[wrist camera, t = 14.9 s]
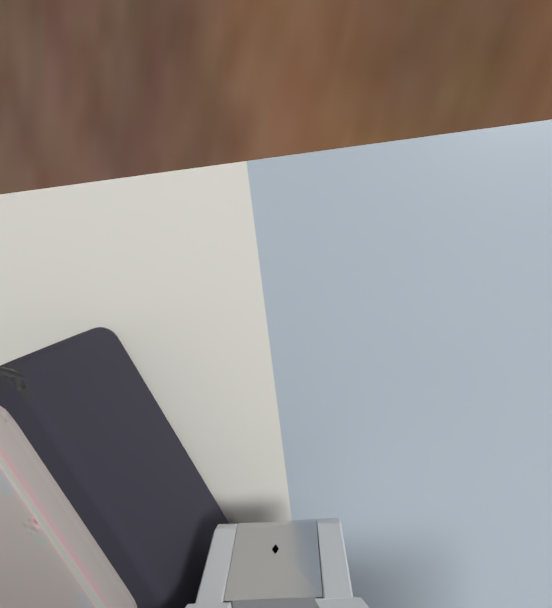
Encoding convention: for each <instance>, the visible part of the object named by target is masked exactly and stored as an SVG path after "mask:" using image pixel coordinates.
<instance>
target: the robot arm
mask: <svg viewBox="0 0 552 608" xmlns="http://www.w3.org/2000/svg"><path fill="white" fill-rule="evenodd" d="M317 525H318V527H317ZM185 608H369V607H368V606H367V604H366V603H365V602H364V600H363V599H362V598H361V597H353V592H352V586H351V580H350V574H349V568H348V562H347V556H346V551H345V545H344V539H343V533H342V527H341V521H340V519H339V518H323V519H306V520H292V521H278V522H262V523H239V524H218V525H217V527H216V529H215V530H214V533H213V537H212V541H211V544H210V548H209V552H208V556H207V560H206V563H205V567H204V571H203V575H202V579H201V583H200V586H199V590H198V594H197V598H196V602H195V603H194V604H187V606H186V607H185Z"/></svg>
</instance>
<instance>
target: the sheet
mask: <svg viewBox="0 0 552 608" xmlns="http://www.w3.org/2000/svg"><path fill="white" fill-rule="evenodd" d="M97 327H104V328H107V329H109V330H111V331H113V332H114V333H115V334H116V336H117V337H118V338H119V340H120V341H121V343H122V345H123V346H124V348H125V350H126V351H127V353H128V355H129V356H130V358H131V360H132V361H133V363H134V365H135V366H136V368H137V370H138V371H139V373H140V375H141V376H142V378H143V380H144V381H145V383H146V385H147V386H148V388H149V390H150V392H151V393H152V395H153V397H154V398H155V400H156V402H157V403H158V405H159V407H160V408H161V410H162V412H163V413H164V415H165V417H166V418H167V420H168V422H169V423H170V425H171V427H172V428H173V430H174V432H175V433H176V435H177V437H178V438H179V440H180V442H181V443H182V445H183V447H184V448H185V450H186V452H187V453H188V455H189V457H190V458H191V460H192V462H193V463H194V465H195V467H196V468H197V470H198V472H199V473H200V475H201V477H202V479H203V480H204V482H205V484H206V485H207V487H208V489H209V490H210V492H211V494H212V495H213V497H214V499H215V500H216V502H217V504H218V505H219V507H220V509H221V510H222V512H223V514H224V515H225V517H226V519H227V520H228V522H229V524H239V523H262V522H278V521H292V520H306V519H323V518H339V519H340V521H341V527H342V533H343V539H344V545H345V551H346V556H347V562H348V568H349V574H350V580H351V586H352V592H353V597H361V598H362V599H363V600H364V602H365V603H366V604H367V606H368V607H369V608H552V120H545V121H538V122H531V123H523V124H516V125H508V126H501V127H494V128H486V129H479V130H472V131H464V132H457V133H450V134H442V135H435V136H428V137H420V138H413V139H406V140H398V141H391V142H384V143H376V144H369V145H362V146H354V147H347V148H339V149H332V150H325V151H317V152H310V153H303V154H295V155H288V156H281V157H273V158H266V159H259V160H251V161H244V162H237V163H229V164H222V165H215V166H207V167H200V168H192V169H185V170H178V171H170V172H163V173H156V174H148V175H141V176H134V177H126V178H119V179H112V180H104V181H97V182H90V183H82V184H75V185H68V186H60V187H53V188H45V189H38V190H31V191H23V192H16V193H9V194H1V195H0V365H3V364H5V363H7V362H10V361H12V360H15V359H17V358H20V357H22V356H25V355H27V354H30V353H32V352H35V351H37V350H40V349H42V348H45V347H47V346H49V345H52V344H54V343H57V342H59V341H62V340H64V339H67V338H69V337H72V336H74V335H77V334H80V333H82V332H85V331H88V330H90V329H93V328H97ZM317 527H318V525H317Z"/></svg>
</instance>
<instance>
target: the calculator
mask: <svg viewBox="0 0 552 608" xmlns="http://www.w3.org/2000/svg"><path fill="white" fill-rule="evenodd" d="M218 524H229V522H228V520H227V519H226V517H225V515H224V514H223V512H222V510H221V509H220V507H219V505H218V504H217V502H216V500H215V499H214V497H213V495H212V494H211V492H210V490H209V489H208V487H207V485H206V484H205V482H204V480H203V479H202V477H201V475H200V473H199V472H198V470H197V468H196V467H195V465H194V463H193V462H192V460H191V458H190V457H189V455H188V453H187V452H186V450H185V448H184V447H183V445H182V443H181V442H180V440H179V438H178V437H177V435H176V433H175V432H174V430H173V428H172V427H171V425H170V423H169V422H168V420H167V418H166V417H165V415H164V413H163V412H162V410H161V408H160V407H159V405H158V403H157V402H156V400H155V398H154V397H153V395H152V393H151V392H150V390H149V388H148V386H147V385H146V383H145V381H144V380H143V378H142V376H141V375H140V373H139V371H138V370H137V368H136V366H135V365H134V363H133V361H132V360H131V358H130V356H129V355H128V353H127V351H126V350H125V348H124V346H123V345H122V343H121V341H120V340H119V338H118V337H117V336H116V334H115V333H114V332H113V331H111V330H109V329H107V328H104V327H97V328H93V329H90V330H88V331H85V332H82V333H80V334H77V335H74V336H72V337H69V338H67V339H64V340H62V341H59V342H57V343H54V344H52V345H49V346H47V347H45V348H42V349H40V350H37V351H35V352H32V353H30V354H27V355H25V356H22V357H20V358H17V359H15V360H12V361H10V362H7V363H5V364H3V365H0V608H185V607H186V606H187V604H194V603H195V602H196V598H197V594H198V590H199V586H200V583H201V579H202V575H203V571H204V567H205V563H206V560H207V556H208V552H209V548H210V544H211V541H212V537H213V533H214V530H215V529H216V527H217V525H218Z"/></svg>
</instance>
